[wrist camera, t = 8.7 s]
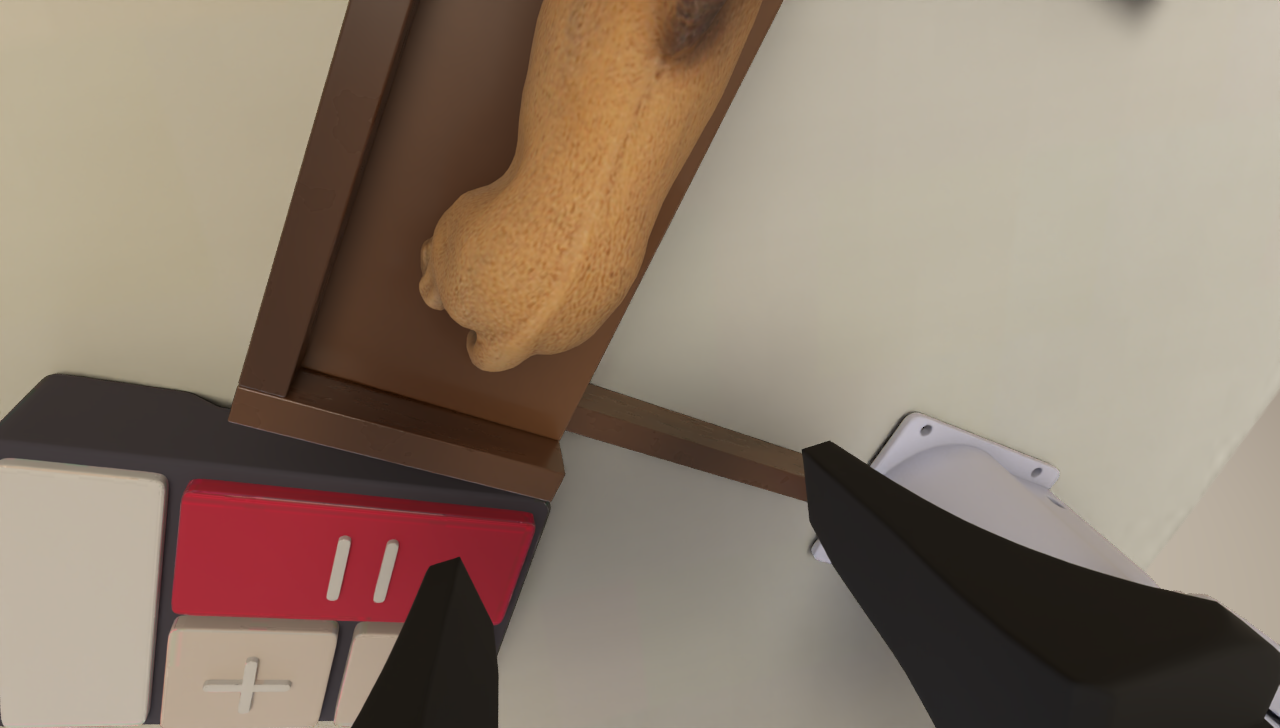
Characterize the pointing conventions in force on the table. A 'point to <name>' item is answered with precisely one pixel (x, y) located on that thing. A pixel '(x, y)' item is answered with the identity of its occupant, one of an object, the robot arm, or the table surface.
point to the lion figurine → (582, 172)
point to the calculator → (217, 562)
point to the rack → (391, 271)
